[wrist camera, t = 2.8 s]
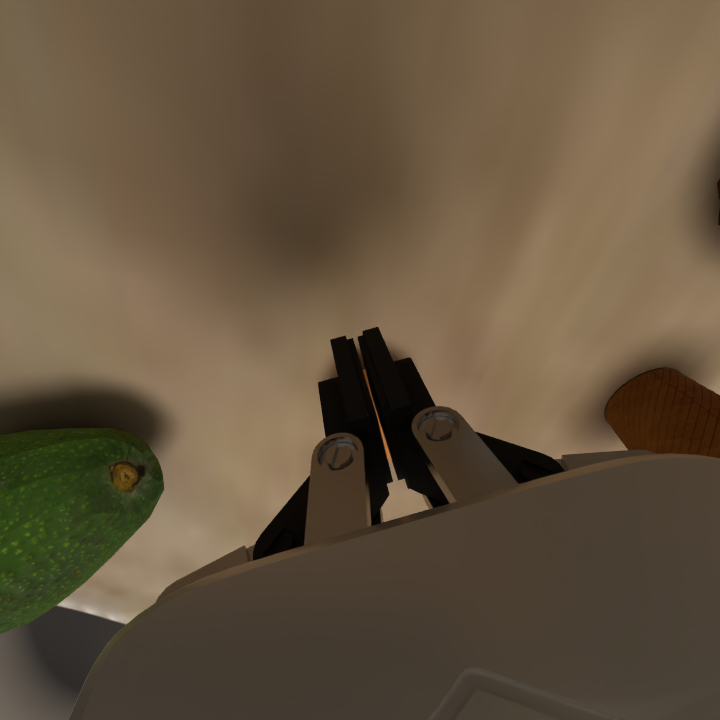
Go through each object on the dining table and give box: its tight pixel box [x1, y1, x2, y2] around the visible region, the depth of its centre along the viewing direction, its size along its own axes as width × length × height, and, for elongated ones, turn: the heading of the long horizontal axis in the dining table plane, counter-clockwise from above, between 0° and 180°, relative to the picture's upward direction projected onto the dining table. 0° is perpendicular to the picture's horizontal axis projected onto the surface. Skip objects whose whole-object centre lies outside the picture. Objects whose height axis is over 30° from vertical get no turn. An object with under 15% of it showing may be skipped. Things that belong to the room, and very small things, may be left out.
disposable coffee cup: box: [605, 368, 720, 459], centre depth 26 cm, size 10×10×12 cm
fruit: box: [0, 428, 164, 634], centre depth 20 cm, size 15×10×10 cm, turn 107°
